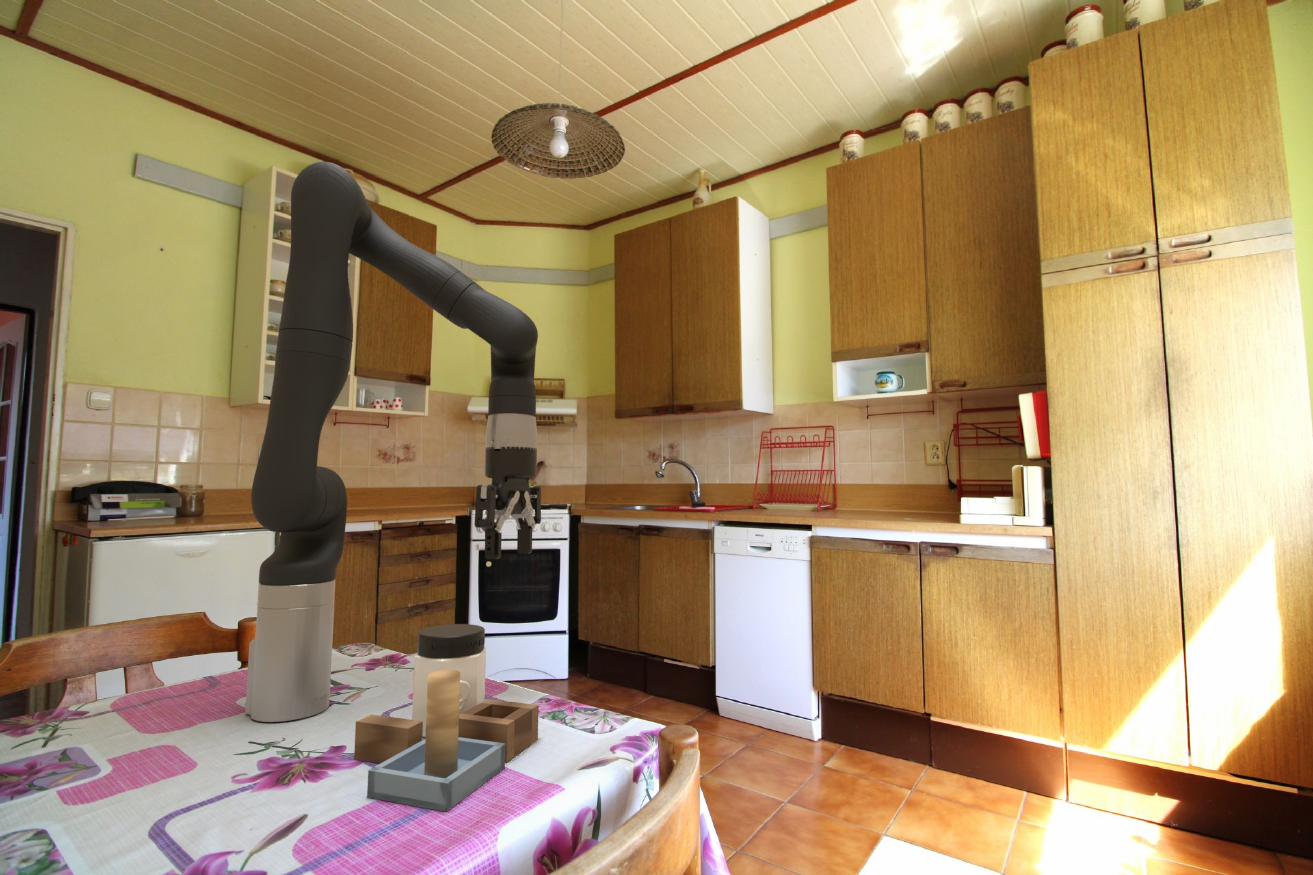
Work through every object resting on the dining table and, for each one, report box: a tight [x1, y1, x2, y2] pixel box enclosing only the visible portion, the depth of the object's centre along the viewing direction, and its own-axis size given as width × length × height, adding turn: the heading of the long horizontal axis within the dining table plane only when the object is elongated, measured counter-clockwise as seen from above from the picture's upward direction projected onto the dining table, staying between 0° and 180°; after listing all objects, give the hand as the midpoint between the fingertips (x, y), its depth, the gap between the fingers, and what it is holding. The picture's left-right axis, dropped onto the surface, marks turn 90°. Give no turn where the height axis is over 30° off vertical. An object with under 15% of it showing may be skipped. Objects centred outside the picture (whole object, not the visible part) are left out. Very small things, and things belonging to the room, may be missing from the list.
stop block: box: [353, 714, 423, 764], centre depth 70 cm, size 7×2×4 cm, turn 72°
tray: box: [366, 737, 506, 813], centre depth 64 cm, size 9×10×2 cm
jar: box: [411, 623, 487, 739], centre depth 80 cm, size 9×8×12 cm
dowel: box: [424, 670, 460, 778], centre depth 65 cm, size 3×3×10 cm
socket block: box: [458, 698, 540, 764], centre depth 73 cm, size 7×7×4 cm
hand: (509, 556), depth 93 cm, fingers open, 8 cm apart
